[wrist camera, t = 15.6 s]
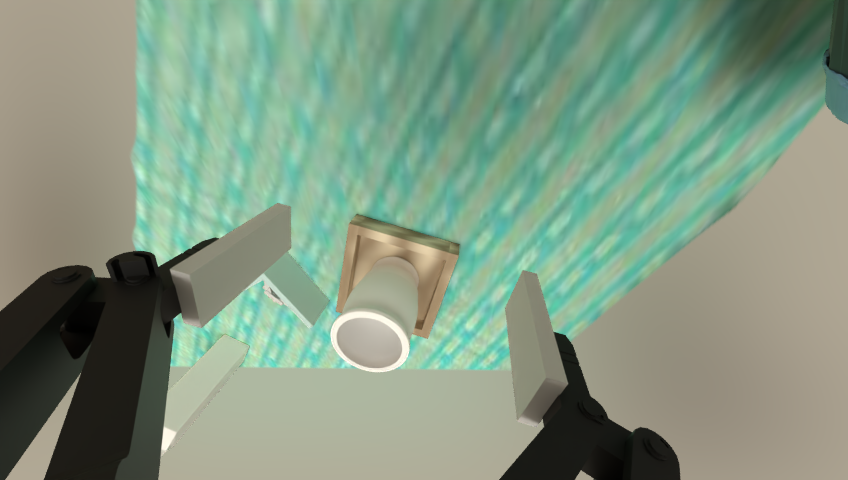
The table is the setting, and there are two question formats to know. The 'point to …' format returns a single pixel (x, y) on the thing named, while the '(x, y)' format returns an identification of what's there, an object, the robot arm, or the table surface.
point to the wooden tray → (422, 251)
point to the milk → (200, 387)
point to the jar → (379, 317)
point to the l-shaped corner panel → (293, 289)
